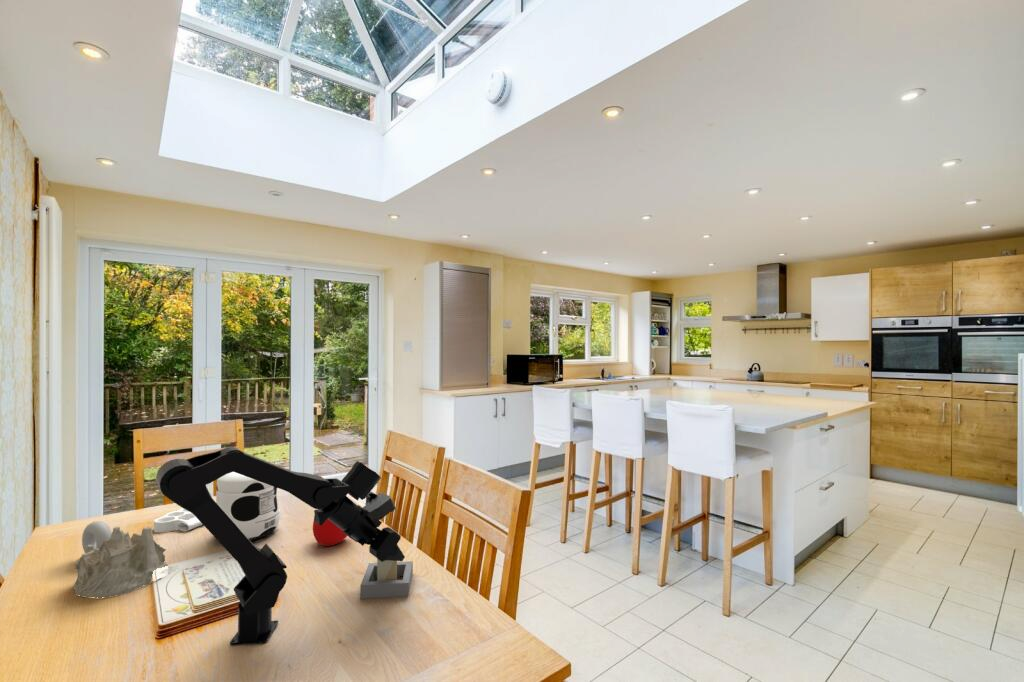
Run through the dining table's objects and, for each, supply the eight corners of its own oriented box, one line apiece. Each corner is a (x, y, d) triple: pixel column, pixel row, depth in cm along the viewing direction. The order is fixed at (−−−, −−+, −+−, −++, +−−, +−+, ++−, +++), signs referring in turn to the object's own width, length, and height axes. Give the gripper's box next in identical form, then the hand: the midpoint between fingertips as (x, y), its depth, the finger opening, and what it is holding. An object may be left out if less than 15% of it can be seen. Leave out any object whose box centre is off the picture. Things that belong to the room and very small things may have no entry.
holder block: (408, 596, 105) (408, 582, 105) (360, 598, 104) (360, 585, 104) (412, 573, 115) (412, 561, 115) (368, 575, 114) (368, 563, 114)
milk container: (219, 527, 143) (220, 468, 143) (282, 520, 149) (283, 463, 149) (204, 551, 127) (205, 484, 127) (276, 542, 133) (277, 478, 133)
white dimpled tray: (178, 537, 136) (142, 531, 141) (232, 516, 153) (198, 510, 158) (178, 526, 136) (142, 519, 141) (232, 505, 153) (198, 500, 158)
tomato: (303, 548, 129) (303, 508, 129) (327, 533, 139) (327, 496, 139) (337, 552, 127) (337, 512, 127) (358, 536, 137) (359, 499, 137)
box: (395, 590, 107) (396, 542, 107) (376, 592, 106) (376, 543, 107) (397, 579, 112) (397, 533, 113) (378, 581, 112) (378, 534, 112)
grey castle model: (177, 574, 114) (173, 512, 114) (89, 609, 100) (85, 538, 100) (149, 562, 122) (146, 504, 122) (65, 592, 108) (61, 527, 108)
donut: (78, 559, 121) (79, 520, 121) (94, 553, 125) (95, 516, 125) (100, 566, 117) (100, 526, 117) (116, 561, 121) (116, 522, 121)
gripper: (392, 495, 100) (436, 533, 107) (355, 476, 114) (396, 511, 121) (356, 542, 95) (405, 579, 102) (322, 516, 109) (367, 550, 116)
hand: (393, 552), depth 111 cm, fingers open, 9 cm apart
